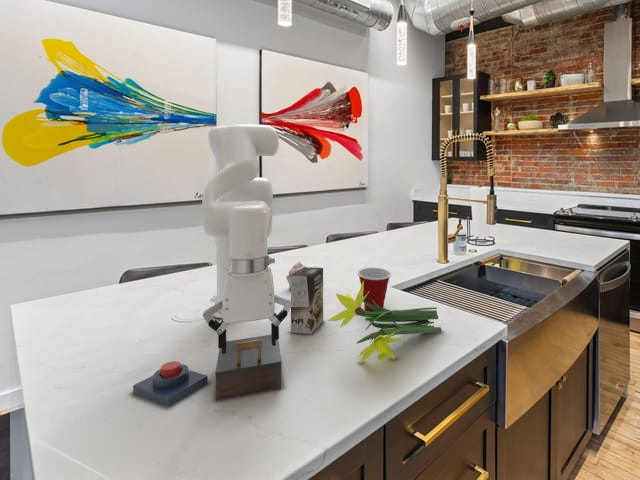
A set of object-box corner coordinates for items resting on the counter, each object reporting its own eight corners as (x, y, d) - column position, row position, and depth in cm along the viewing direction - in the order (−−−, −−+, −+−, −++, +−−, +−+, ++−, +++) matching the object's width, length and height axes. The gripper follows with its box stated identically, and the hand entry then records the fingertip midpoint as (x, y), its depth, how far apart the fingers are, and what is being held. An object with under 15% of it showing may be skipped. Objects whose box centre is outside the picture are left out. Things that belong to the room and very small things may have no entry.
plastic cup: (378, 318, 122) (378, 278, 122) (350, 311, 128) (350, 273, 128) (398, 307, 131) (397, 270, 131) (371, 300, 137) (370, 265, 137)
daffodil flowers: (464, 344, 107) (370, 355, 82) (423, 360, 114) (324, 374, 89) (445, 282, 116) (355, 275, 91) (408, 300, 123) (314, 297, 98)
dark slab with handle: (281, 367, 85) (281, 340, 85) (215, 378, 80) (215, 350, 80) (277, 338, 98) (277, 315, 98) (220, 347, 94) (220, 323, 94)
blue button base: (132, 393, 84) (132, 376, 84) (173, 372, 92) (173, 357, 92) (168, 407, 79) (168, 389, 79) (207, 383, 87) (207, 367, 87)
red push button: (157, 375, 85) (157, 367, 85) (173, 367, 88) (173, 359, 88) (168, 379, 83) (168, 371, 83) (184, 371, 86) (184, 363, 86)
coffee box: (311, 334, 111) (311, 276, 111) (289, 332, 112) (289, 274, 112) (324, 321, 120) (324, 267, 120) (304, 319, 121) (303, 266, 121)
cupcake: (308, 293, 145) (308, 265, 145) (282, 293, 145) (282, 265, 145) (314, 284, 154) (314, 258, 154) (290, 284, 155) (290, 258, 154)
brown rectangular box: (281, 388, 85) (281, 365, 85) (215, 401, 81) (215, 377, 81) (277, 358, 98) (277, 338, 98) (220, 368, 94) (220, 347, 94)
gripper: (290, 256, 91) (290, 333, 91) (204, 264, 85) (205, 346, 85) (293, 264, 84) (293, 347, 84) (200, 273, 78) (201, 363, 78)
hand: (249, 347), depth 84 cm, fingers open, 9 cm apart
